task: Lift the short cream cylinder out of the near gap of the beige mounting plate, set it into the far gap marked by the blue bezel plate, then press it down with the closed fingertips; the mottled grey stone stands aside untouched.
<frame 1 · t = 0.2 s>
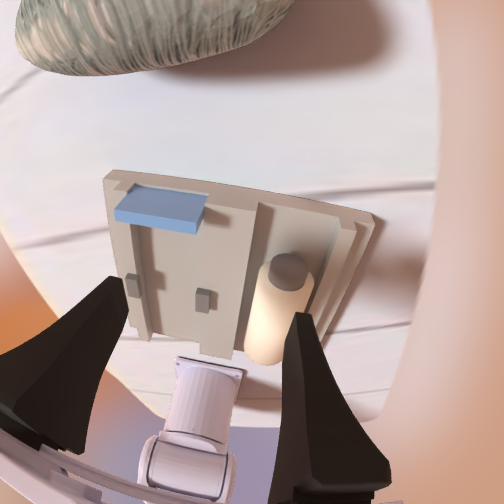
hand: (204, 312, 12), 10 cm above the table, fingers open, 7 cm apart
beige mounting plate: (226, 276, 25), on the table
cream cylinder: (275, 298, 23), point 1 cm above the table, touching beige mounting plate
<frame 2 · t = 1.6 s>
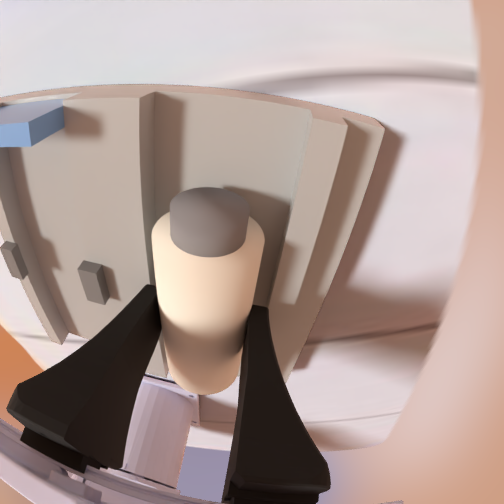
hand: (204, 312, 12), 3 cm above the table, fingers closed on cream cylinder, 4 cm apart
beige mounting plate: (142, 247, 15), on the table
cream cylinder: (213, 283, 14), point 1 cm above the table, touching beige mounting plate, gripper
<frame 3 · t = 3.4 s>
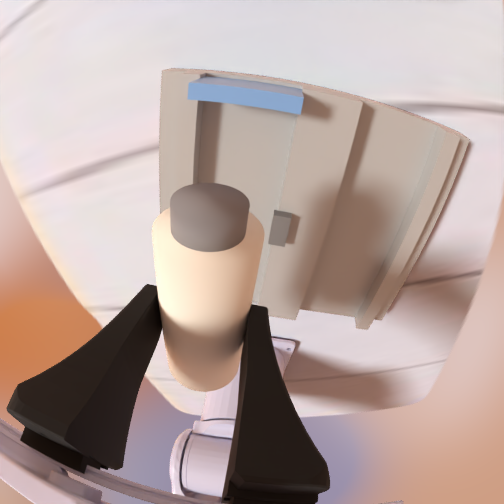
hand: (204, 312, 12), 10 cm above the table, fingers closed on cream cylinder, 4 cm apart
beige mounting plate: (300, 206, 20), on the table
cream cylinder: (214, 279, 14), point 8 cm above the table, touching gripper
when the fingers open (4 cm above the table, at t = 4.7 s): cream cylinder drops 1 cm, resting on beige mounting plate.
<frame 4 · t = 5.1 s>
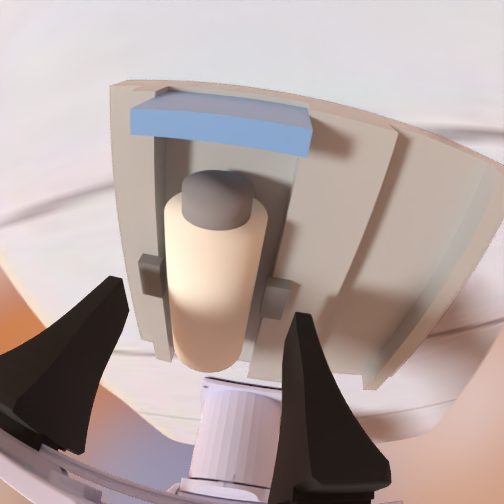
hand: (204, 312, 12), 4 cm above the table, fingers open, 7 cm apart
beige mounting plate: (301, 260, 16), on the table
cream cylinder: (219, 264, 15), point 1 cm above the table, touching beige mounting plate
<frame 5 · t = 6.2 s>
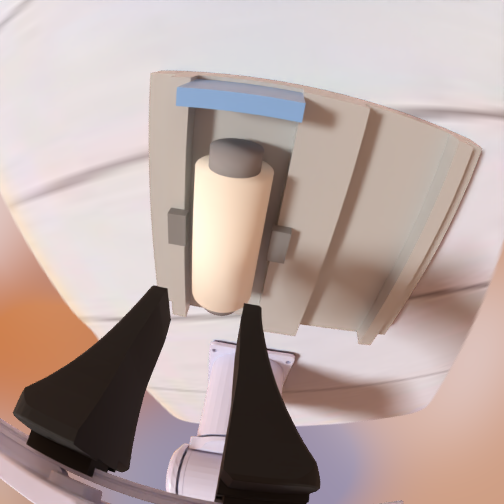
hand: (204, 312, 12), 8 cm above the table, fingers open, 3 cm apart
beige mounting plate: (300, 219, 19), on the table
cream cylinder: (233, 219, 18), point 1 cm above the table, touching beige mounting plate
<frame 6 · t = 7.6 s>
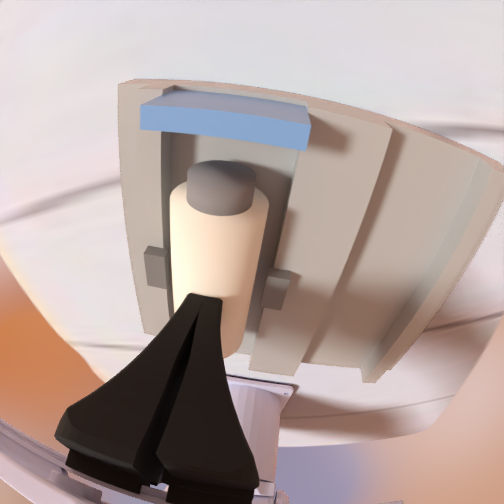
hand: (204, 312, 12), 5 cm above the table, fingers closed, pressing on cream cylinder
beige mounting plate: (301, 253, 16), on the table
cream cylinder: (222, 253, 15), point 1 cm above the table, touching beige mounting plate, gripper
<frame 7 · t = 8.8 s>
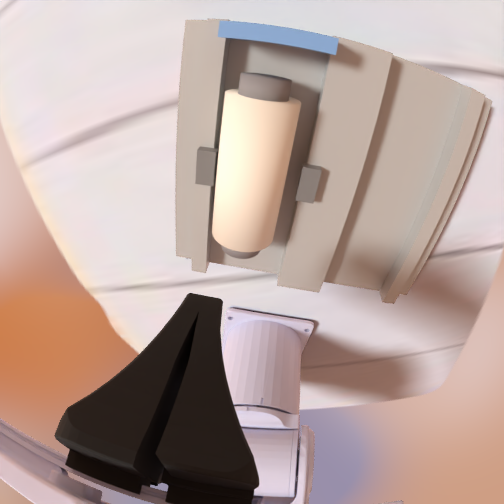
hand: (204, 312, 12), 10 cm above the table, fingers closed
beige mounting plate: (325, 167, 18), on the table
cream cylinder: (260, 159, 17), point 2 cm above the table, tilted 10°, touching beige mounting plate
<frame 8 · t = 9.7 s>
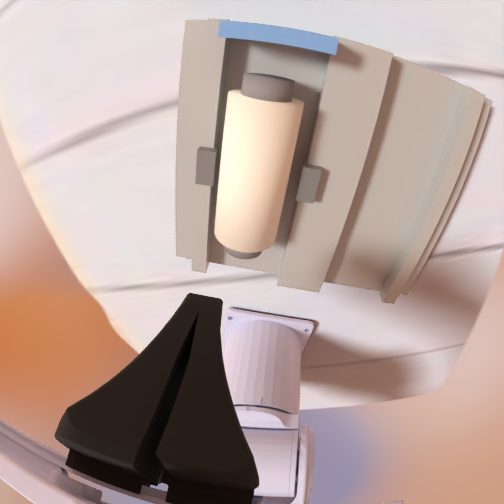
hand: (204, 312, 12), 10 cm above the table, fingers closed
beige mounting plate: (325, 167, 18), on the table
cream cylinder: (261, 159, 17), point 1 cm above the table, tilted 6°, touching beige mounting plate
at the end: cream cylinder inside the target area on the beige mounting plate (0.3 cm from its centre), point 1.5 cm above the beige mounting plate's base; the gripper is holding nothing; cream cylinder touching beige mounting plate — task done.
